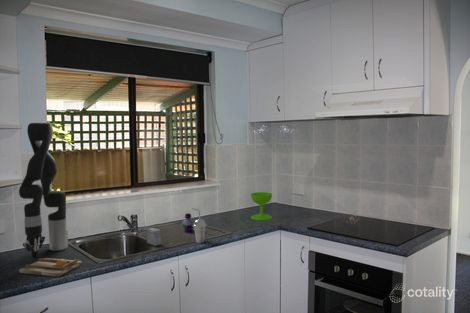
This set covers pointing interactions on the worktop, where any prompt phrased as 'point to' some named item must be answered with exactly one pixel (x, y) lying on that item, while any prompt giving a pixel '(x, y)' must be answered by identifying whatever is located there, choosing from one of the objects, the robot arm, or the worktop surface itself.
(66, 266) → the beige tray
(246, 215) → the worktop surface
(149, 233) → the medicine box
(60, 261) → the ball
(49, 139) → the robot arm
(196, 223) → the cup with straw
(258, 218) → the wineglass
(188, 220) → the potion bottle
